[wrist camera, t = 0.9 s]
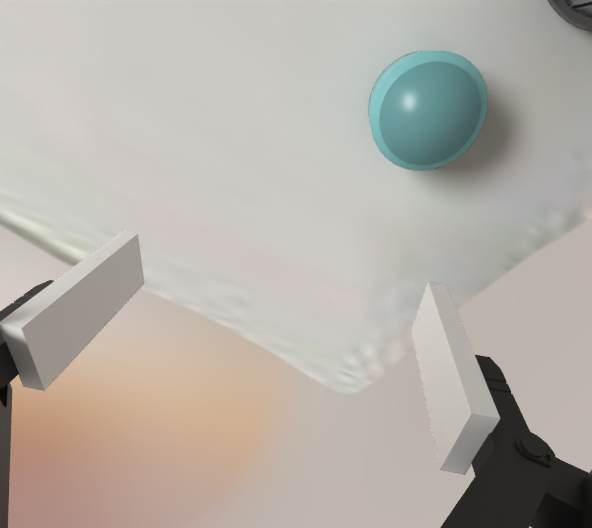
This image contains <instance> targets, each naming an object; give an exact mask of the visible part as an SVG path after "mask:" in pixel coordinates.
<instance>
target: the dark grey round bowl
mask: <svg viewBox="0 0 592 528" xmlns="http://www.w3.org/2000/svg"><path fill="white" fill-rule="evenodd" d="M548 1H549V3H550V5H551V6H552V7H553V8H554V10H555V11H556V12H557V13H558V14H559V15H560V16H561V17H563V18H564V19H565V20H566V21H568V22H569V23H571V24H573V25H575V26H577V27H579V28H582V29H585V30H588V31H592V0H548Z"/></svg>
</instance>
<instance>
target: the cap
mask: <svg viewBox="0 0 592 528" xmlns="http://www.w3.org/2000/svg"><path fill="white" fill-rule="evenodd" d="M487 107H488V95H487V89H486V85H485V82H484V80H483V78H482V76H481V74H480V72H479V71H478V69H477V68H476V67H475V66H474V65H473V64H472V63H471V62H470V61H468V60H467V59H466V58H464V57H462V56H460V55H458V54H455V53H451V52H445V51H419V52H414V53H410V54H407V55H405V56H403V57H401V58H399V59H397V60H396V61H394V62H393V63H392V64H390V65H389V66H388V67H387V68H386V69H385V70H384V71H383V72H382V74H381V75H380V76H379V78H378V79H377V81H376V83H375V85H374V87H373V89H372V92H371V95H370V99H369V107H368V113H369V121H370V125H371V130H372V134H373V137H374V140H375V142H376V145H377V146H378V148H379V150H380V151H381V152H382V154H383V155H384V156H385V157H386V158H387V159H388V160H389V161H391V162H392V163H394V164H396V165H398V166H400V167H402V168H405V169H410V170H419V171H422V170H431V169H435V168H438V167H441V166H444V165H446V164H448V163H450V162H452V161H453V160H455V159H457V158H458V157H459V156H461V155H462V154H463V153H464V152H465V151H466V150H467V149H468V148H469V147H470V146H471V145H472V143H473V142H474V141H475V139H476V138H477V136H478V135H479V133H480V131H481V129H482V126H483V124H484V121H485V118H486V114H487Z"/></svg>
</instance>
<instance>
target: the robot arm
mask: <svg viewBox="0 0 592 528" xmlns="http://www.w3.org/2000/svg"><path fill="white" fill-rule="evenodd" d="M143 284H144V277H143V270H142V262H141V255H140V247H139V239H138V234H137V233H131V232H125V231H121V232H120V233H118V234H117V235H116V236H114V237H113V238H112V239H110V240H109V241H108V242H106V243H105V244H104V245H102V246H101V247H100V248H98V249H97V250H96V251H94V252H93V253H92V254H90V255H89V256H88V257H86V258H85V259H84V260H82V261H81V262H79V263H78V264H77V265H75V266H74V267H73V268H71V269H70V270H69V271H68V272H66V273H65V274H63V275H62V276H61V277H59V278H58V279H57V280H55V281H52V280H49V281H47V282H45V283H43V284H40V285H38V286H35V287H34V288H33V289H31V290H30V291H28V292H27V293H25V294H24V296H23V297H20V298H18V299H17V300H16V301H14V303H12V304H10V305H9V306H7V307H6V308H5V309H3V310H2V311H0V528H8V501H9V471H10V441H11V410H12V388H11V385H10V381H12V380H13V379H14V378H15V377H16V376H17V375H19V377H20V380H21V382H22V384H23V386H24V387H28V388H33V389H38V390H43V391H45V390H46V389H47V388H48V387H49V385H51V383H52V382H53V381H54V380H55V379H56V378H57V377H58V376H59V375H60V374H61V373H62V372H63V371H64V369H65V368H66V367H67V366H68V365H69V364H70V363H71V362H72V361H73V360H74V359H75V358H76V356H78V354H79V353H80V352H81V351H82V350H83V349H84V348H85V347H86V346H87V345H88V344H89V343H90V341H91V340H92V339H93V338H94V337H95V336H96V335H97V334H98V333H99V332H100V331H101V330H102V329H103V328H104V326H105V325H106V324H107V323H108V322H109V321H110V320H111V319H112V318H113V317H114V316H115V314H117V312H118V311H119V310H120V309H121V308H122V307H123V306H124V305H125V304H126V303H127V302H128V301H129V299H130V298H131V297H132V296H133V295H134V294H135V293H136V292H137V291H138V290H139V289H140V288H141V287H142V286H143ZM411 333H412V338H413V342H414V347H415V352H416V356H417V362H418V366H419V371H420V376H421V381H422V386H423V391H424V395H425V400H426V405H427V410H428V415H429V419H430V424H431V429H432V434H433V439H434V444H435V448H436V453H437V458H438V462H439V468H440V470H443V471H448V472H453V473H459V474H464V475H465V474H466V472H467V470H468V469H469V467H470V466H471V464H472V466H473V469H474V472H475V476H476V477H475V478H474V480H473V481H472V482H471V484H470V485H469V487H468V488H467V490H466V491H465V493H464V494H463V496H462V497H461V499H460V500H459V501H458V503H457V504H456V506H455V507H454V509H453V510H452V512H451V513H450V515H449V516H448V517H447V519H446V520H445V522H444V523H443V525H442V526H441V528H529V526H530V527H532V528H592V470H591V472H590V473H588V472H586V471H583V470H581V469H579V468H577V467H574V466H572V465H570V464H568V463H566V462H564V461H562V460H560V459H558V458H556V457H555V454H554V452H553V451H552V449H551V448H550V447H549V446H548V444H547V443H546V442H544V441H543V440H542V439H541V438H539V437H538V436H537V435H535V434H533V433H531V432H530V430H529V429H528V426H527V424H526V422H525V420H524V418H523V416H522V413H521V411H520V409H519V407H518V405H517V403H516V401H515V399H514V396H513V395H512V394H511V390H510V388H509V386H508V384H506V379H505V377H504V375H503V373H502V371H501V369H500V368H499V367H498V366H497V365H496V364H495V363H494V361H493V360H492V359H491V358H490V357H485V356H479V355H475V354H474V352H473V350H472V347H471V345H470V342H469V340H468V337H467V335H466V332H465V330H464V327H463V325H462V322H461V320H460V317H459V315H458V312H457V310H456V307H455V305H454V302H453V300H452V297H451V295H450V293H449V290H448V288H447V285H444V284H438V283H432V282H428V284H427V287H426V290H425V293H424V296H423V298H422V301H421V304H420V307H419V309H418V312H417V315H416V318H415V321H414V323H413V326H412V329H411Z"/></svg>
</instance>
